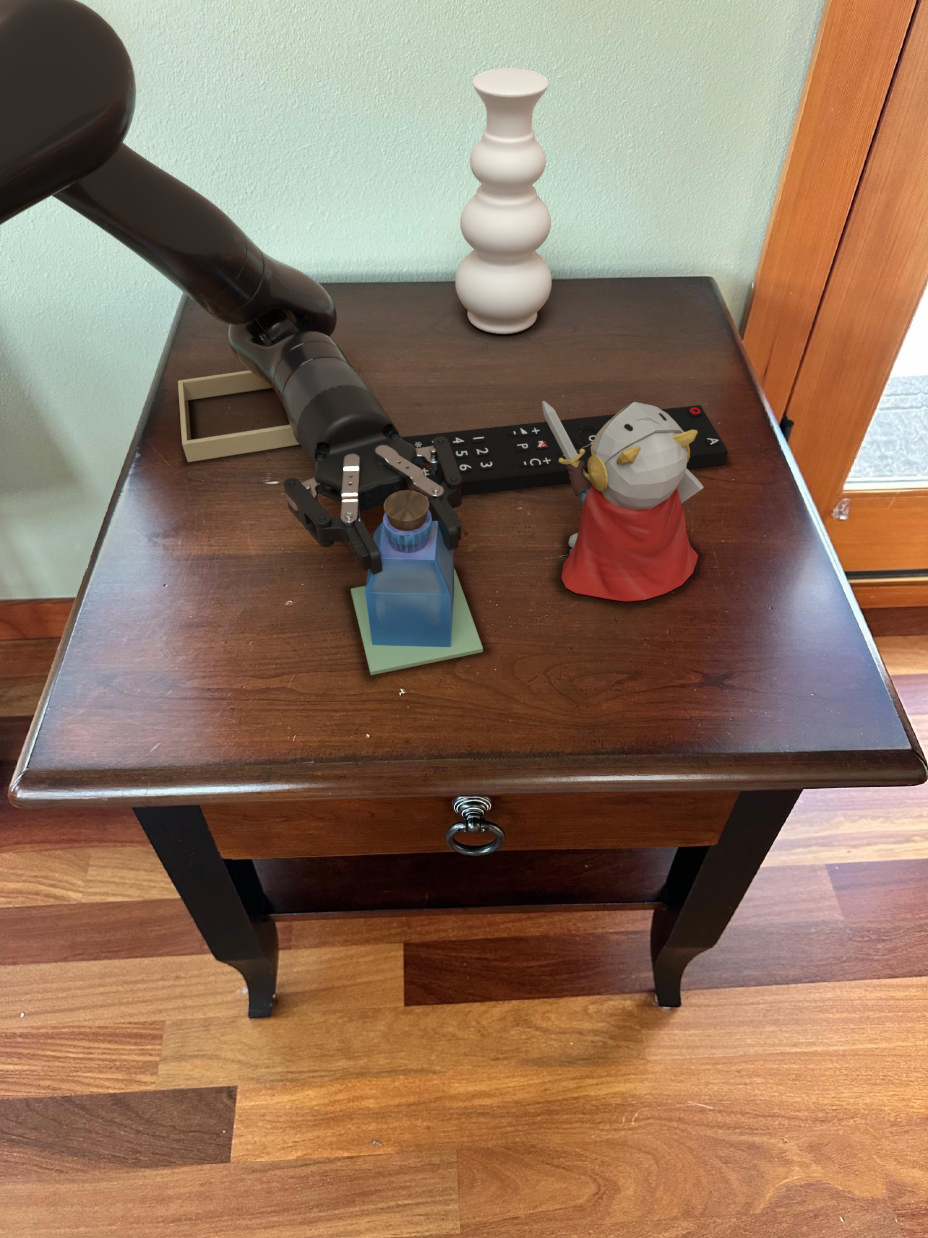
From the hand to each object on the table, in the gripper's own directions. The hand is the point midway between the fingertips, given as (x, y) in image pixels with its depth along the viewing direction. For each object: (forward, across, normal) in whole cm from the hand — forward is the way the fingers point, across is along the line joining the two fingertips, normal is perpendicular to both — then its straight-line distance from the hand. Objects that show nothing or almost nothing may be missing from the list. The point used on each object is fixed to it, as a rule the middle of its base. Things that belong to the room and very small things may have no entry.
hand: (416, 552), depth 60 cm
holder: (-34, -6, +9) cm, 35 cm away
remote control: (-15, +21, +9) cm, 27 cm away
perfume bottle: (-1, 0, +9) cm, 9 cm away
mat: (-1, 0, +9) cm, 9 cm away
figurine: (-1, +19, +9) cm, 21 cm away
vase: (-40, +27, +10) cm, 49 cm away
